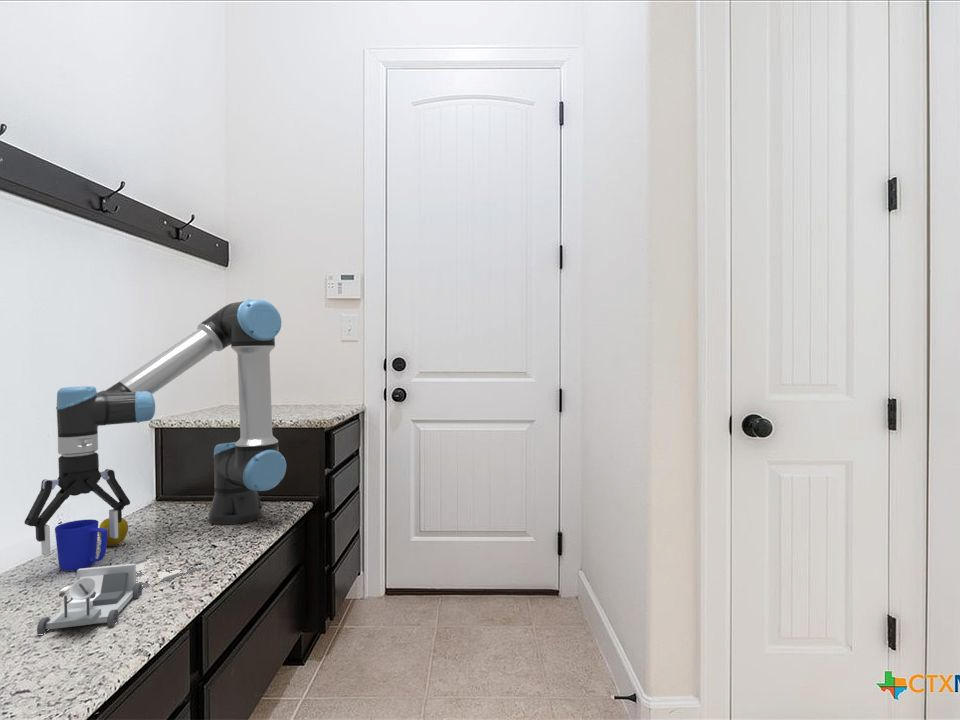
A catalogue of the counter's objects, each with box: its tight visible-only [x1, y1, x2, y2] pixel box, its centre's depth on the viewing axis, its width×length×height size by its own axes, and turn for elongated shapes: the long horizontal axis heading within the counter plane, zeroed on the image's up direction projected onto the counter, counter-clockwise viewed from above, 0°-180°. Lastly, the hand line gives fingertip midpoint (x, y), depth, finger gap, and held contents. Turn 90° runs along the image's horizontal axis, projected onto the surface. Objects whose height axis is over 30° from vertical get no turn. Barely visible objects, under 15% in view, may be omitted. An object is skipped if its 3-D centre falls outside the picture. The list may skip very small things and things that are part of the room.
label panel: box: [130, 559, 208, 590], centre depth 127 cm, size 16×18×1 cm
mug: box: [54, 518, 108, 572], centre depth 130 cm, size 8×12×10 cm
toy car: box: [36, 563, 143, 635], centre depth 104 cm, size 18×10×12 cm
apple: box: [98, 517, 129, 547], centre depth 146 cm, size 6×6×8 cm
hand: (81, 545), depth 129 cm, fingers open, 13 cm apart
